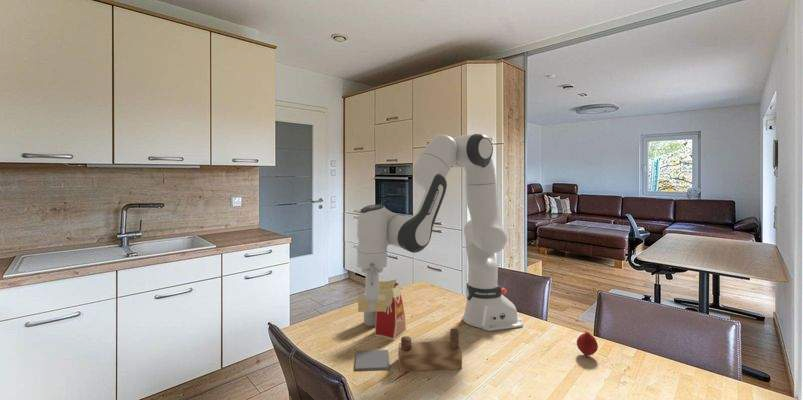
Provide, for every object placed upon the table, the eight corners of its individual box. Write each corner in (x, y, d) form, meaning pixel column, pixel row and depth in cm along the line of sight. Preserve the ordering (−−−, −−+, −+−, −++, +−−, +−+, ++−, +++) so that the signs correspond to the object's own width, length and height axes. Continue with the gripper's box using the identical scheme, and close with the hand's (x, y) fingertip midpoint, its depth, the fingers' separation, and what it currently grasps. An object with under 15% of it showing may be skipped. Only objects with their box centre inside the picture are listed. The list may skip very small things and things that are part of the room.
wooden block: (385, 305, 110) (385, 294, 109) (385, 311, 105) (385, 299, 105) (358, 306, 109) (358, 294, 109) (358, 311, 104) (358, 300, 104)
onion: (595, 352, 114) (596, 328, 113) (598, 362, 108) (600, 336, 107) (575, 349, 115) (576, 325, 115) (577, 358, 110) (578, 333, 109)
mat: (388, 351, 114) (388, 349, 114) (389, 369, 104) (389, 367, 104) (356, 352, 113) (356, 350, 113) (355, 370, 103) (355, 368, 103)
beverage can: (380, 327, 131) (380, 295, 130) (362, 327, 131) (362, 295, 130) (381, 320, 137) (381, 289, 136) (364, 320, 137) (364, 289, 136)
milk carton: (406, 330, 129) (406, 276, 127) (395, 341, 121) (395, 283, 119) (384, 325, 133) (384, 272, 131) (371, 335, 124) (371, 279, 123)
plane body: (456, 356, 111) (456, 325, 110) (461, 368, 104) (462, 335, 103) (398, 358, 110) (398, 327, 109) (400, 371, 103) (400, 338, 102)
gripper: (383, 269, 96) (383, 319, 97) (382, 251, 116) (381, 293, 117) (360, 269, 95) (360, 319, 96) (362, 252, 115) (362, 293, 117)
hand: (372, 305), depth 107 cm, fingers closed on wooden block, 4 cm apart
